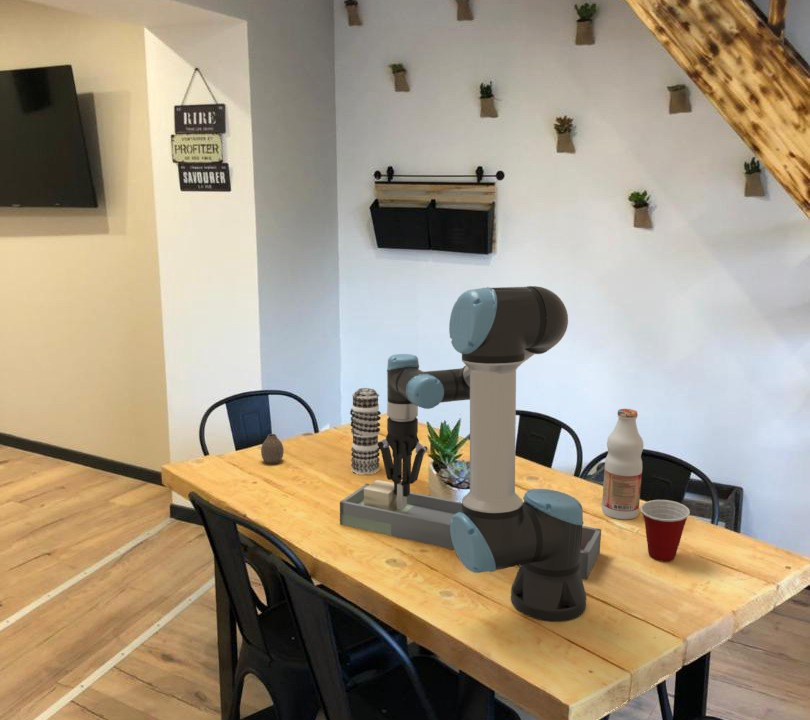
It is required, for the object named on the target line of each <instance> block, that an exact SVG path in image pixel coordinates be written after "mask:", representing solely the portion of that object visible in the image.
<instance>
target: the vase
mask: <svg viewBox="0 0 810 720" xmlns="http://www.w3.org/2000/svg"><path fill="white" fill-rule="evenodd" d="M284 454H285V453H284V445H283V443H282V441H281V440H279V438H278V436H277V434H276V433H269V434H268V435H267V437H266V439H265V440H264V441H263V442H262V444H261V448H260V455H261V459H262V460H263V461H264V462H265V463H266V464H269V465H275V464H278V463H279V462H280V461H282V459H283V457H284Z"/></svg>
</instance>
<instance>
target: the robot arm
mask: <svg viewBox="0 0 810 720" xmlns="http://www.w3.org/2000/svg"><path fill="white" fill-rule="evenodd" d="M450 312H451V313H450V315H449V324H448V325H449V327H448V329H449V331H448V332H449V338H450V339H451V341H450V342H451V345H452V347H453V349H454V350H455V351H456V352H458V353H460V354H461V362H462V363H463V364H464V366H463V367H460V368H452V369H441V370H428V371H423V370H421V369H420V365H419V364H420V363H419V362H420V361H419V358H418V356H417V355H414V354H409V353H398V354H397V353H396V354H392V355H391V356H389V357H388V359H387V369H386V375H387V376H386V378H387V382H386V383H387V385H386V387H387V391H386V392H387V400H386V401H387V407H386V408H387V410H386V412H387V413H386V415H387V417H388V418H387V419H386V424H387V425H386V429H387V430H386V432H387V434H386V436H385V439H382V440H380V441H378V447H379V448H380V449H379V451H380V452H381V457H382V461H383V462H382V463H383V465H384V470H385V474H386V475H385V476H386V479H387V480H390V481H392V483H394V494H395V495H397V509H401V510H402V509H404V508H405V507H406V506H407V496H408V495H409V494H410V492H411V485H412V484H414V483H415V482H417V480H418V478H419V475H420V471H421V466H422V463H423V461H424V460H423V459H424V456H425V454H426V453H427V451H428V447H427V446H424V445H422V443H420V440H419V439H420V438H419V437H418V430H419V429H418V428H419V422H418V421H419V419H418V418H417V417H419V416H418V415H419V408H421V409H422V408H423V409H425V410H430V409H433V408H435V407H436V406H439V405H440V404H441V403H448V402H449V403H451V402H457V401H459V402H461V401H469V492H467V493H466V494H465V495H464V496H463V498H462V499H461V502H462V513H461V512H458V513H456V514H455V515H453V517H452V519H451V522H450V533H451V539H452V543H453V546H454V549H455V550H454V551H455V553H456V555H457V557H458V559H459V561H460V562H461V564H462V565H463V567H465V569H467V570H468V571H470V572H471V573H475V574H479V573H486V572H489V573H493V572H495V571H497V570H503V569H508V568H512V567H517V566H519V568H518V570H517V572H516V575H515V577H514V580H513V583H512V585H511V588H510V601H511V604H512V605H513V607H514V608H515V609H516V610H517V611H519V612H520V613H522V614H523V615H524V616H527V617H530V618H533V619H535V620H540V621H546V622H566V621H571V620H574V619H576V618H579V617H580V616H582V615H583V614H584V613H585V611H586V609H587V593H586V590H585V585H584V583H583V579H582V578H581V574H580V571H579V566H580V552H581V537H582V526H584V512H583V506H582V504H581V502H580V501H579V500H578V499H577V498H576V497H574V496H571V495H570V494H567V493H565V492H562V491H558V490H554V489H547V488H532V489H529V490H527V491H525V492H524V495H523V496H522V497H523V499H522V498H521V497H520V496H519V495H518V494H517V493H516V435H517V434H516V431H517V430H516V427H517V426H516V424H517V423H516V422H517V420H516V419H517V417H516V416H517V414H516V412H517V410H516V409H517V407H516V405H517V400H516V398H517V370H518V368H519V367H520V366H521V365H522V364H524V363H525V362H526V361H528V360H529V359H530V358H532V357H533V356H534V355H542V354H545V353H546V352H548V351H550V350H551V349H552V348H554V347H555V346H556V345H557V344H558V343H560V341H562V339H563V338H564V336H565V334H566V332H567V331H568V325H569V314H568V311H567V307H566V306H565V303H564V302H563V301H562V299H561V298H560V297H559V296H558V295H557V294H556V293H554V292H553V291H551V290H550V289H547V288H546V287H542V286H536V285H535V286H534V285H527V286H506V287H489V286H487V287H482V288H481V287H479V288H473V289H468V290H465V291H464V292H463V293H461V294H460V295H459V296H458V297H457V299H456V301H455V302H454V304H453V307H452V309H451V311H450ZM390 448H391V449H390ZM415 449H416V450H415ZM414 450H415V455H414V460H413V463H412V455H413V451H414ZM391 451H392V452H391Z"/></svg>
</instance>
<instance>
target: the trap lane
mask: <svg viewBox="0 0 810 720" xmlns="http://www.w3.org/2000/svg"><path fill="white" fill-rule="evenodd" d="M370 484H371V483H365V484H364V485H362V486H361V487H359V488H358V489H357V490H355V491H353V492H352V493H351V494H349V495H348V496H347V497H345V498H343V499H342V500H340V501H339V524H340V525H342V526H347V527H351V528H356V529H360V530H363V531H370V532H373V533H377V534H383V535H387V536H390V537H396V538H400V539H403V540H408V541H413V542H416V543H417V542H418V543H422V544H425V545H432V546H435V547H440V548H444V549H450V550H453V551H455V549H454V546H453V543H452V539H451V533H450V522H451V519H452V517H453V515H455V514H456V513H458V512H461V513H462V503H461V502H462V501H459V502H455V501H456V500H453V501H452V499H448V498H442V497H438V496H432V495H427V494H422V493H417V492H412V491H410V494H409V495H408V496H407V506H406V507H405V508H404V509H402V510H401V509H397V510H396V511H390V510H385V509H380V508H375V507H371V506H366V505H364V488H366V487H367V486H369V485H370ZM601 537H602V529H601V528H597V527H592V526H591V527H590V526H586V525H582V537H581V552H580V566H579V571H580V574H581V578H582V580H587V579H588V577H589V575H590V574H591V572H592V570H593V568H594V566H593V565H595V564H594V563H596V562H595V561H597V559H598V557H599V555H600V554H601V539H602V538H601ZM590 571H591V572H590Z"/></svg>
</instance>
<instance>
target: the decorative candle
mask: <svg viewBox="0 0 810 720" xmlns="http://www.w3.org/2000/svg"><path fill="white" fill-rule="evenodd" d="M351 396H352V405H351V406H352V407H351V408H350V412H349V414H350V415H351V417H350V426H351V429H350V430H351V431H350V432H351V435H352V444H351V445H352V447H351V449H350V451H352V452H351V454H350V455H351V459H350V462H351V465H350V466H351V472H352V471H353V472H355V473H358V474H357V475H360V474H371V475H373V474H372V473H375V472H377V471H379V472H380V448H379V447H378V442H379V441H378V440H379V435H380V432H381V428H380V426H381V423H380V422H379V421H380V420H381V416H380V415H381V414H382V413H381V411H380V410H379V407H380V405H379V397H380V394H379V393H378V392H377V391H376V390H375V389H374V388H369V387H368V388H367V387H364V388H363V387H362V388H358V389H356V390H355V392H353V393H352V395H351ZM353 472H352V473H353ZM355 473H354V474H355ZM377 473H378V472H377ZM375 474H376V473H375Z"/></svg>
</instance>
